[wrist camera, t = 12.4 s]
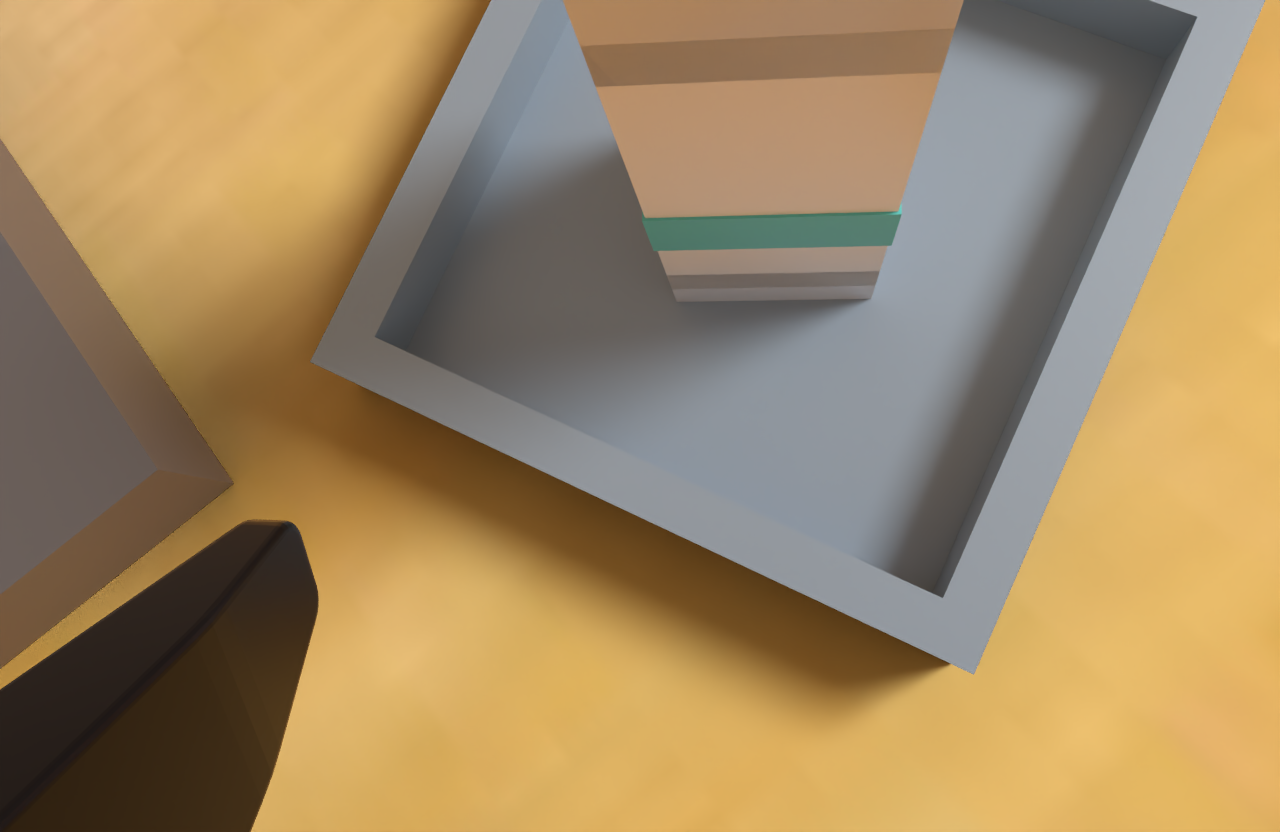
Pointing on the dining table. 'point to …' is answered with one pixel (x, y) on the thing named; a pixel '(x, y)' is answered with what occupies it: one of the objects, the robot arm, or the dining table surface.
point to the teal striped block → (767, 133)
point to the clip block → (77, 430)
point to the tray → (802, 306)
